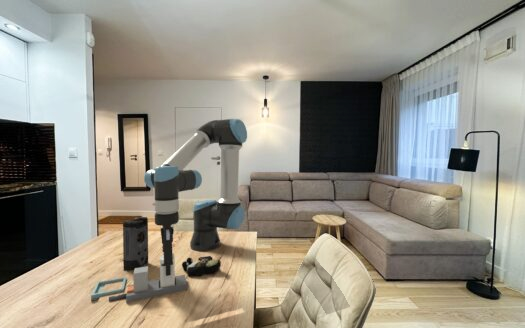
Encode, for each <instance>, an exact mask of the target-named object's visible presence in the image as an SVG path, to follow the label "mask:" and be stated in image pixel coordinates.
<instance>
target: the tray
mask: <svg viewBox="0 0 525 328" xmlns="http://www.w3.org/2000/svg"><path fill="white" fill-rule="evenodd" d="M116 282H122V284H121V288H117V289H112V290H107V291H103V290H104V288H105V285H106V284H110V283H116ZM126 283H127V276H122V277H117V278H112V279H105V280H100V281H96V284H95V286H94V288H93V291H92V292H91V294H90V301H91V302H93V301H98V300H100V298H101V297H102V296H103V297H104V296H108V295H113V294H118V293H123V292H124V291H125V287H126Z"/></svg>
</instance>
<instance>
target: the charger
mask: <svg viewBox="0 0 525 328" xmlns="http://www.w3.org/2000/svg"><path fill="white" fill-rule="evenodd" d="M172 257H173V265H172V266H173V284H168V285H164V279H163V266H161V264H163V263H164V255H163V254H161V255H159V269H160V271H159V275H160V277H159V279H160V288H164V287H169V286H174V285H175V276H176V274H175V273H176V271H175V270H176V269H175V266H176V265H175V263H176V262H175V261H176V260H175V254H174V253H173V252H172Z"/></svg>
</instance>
